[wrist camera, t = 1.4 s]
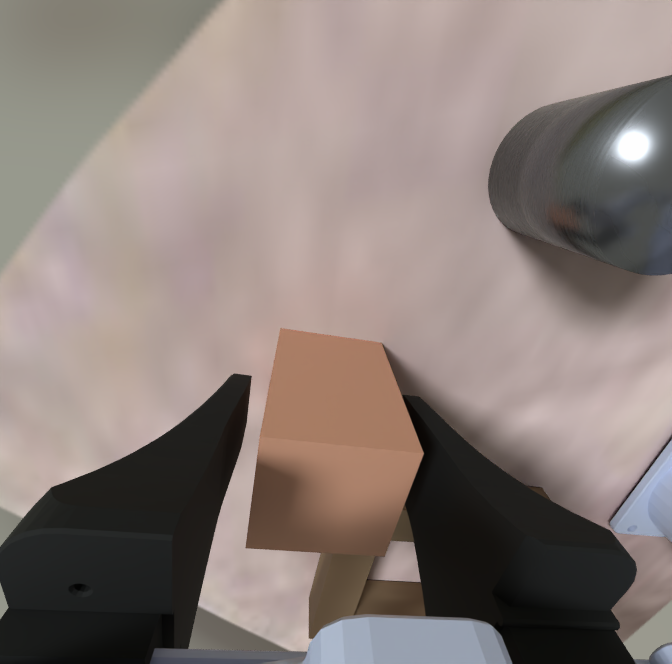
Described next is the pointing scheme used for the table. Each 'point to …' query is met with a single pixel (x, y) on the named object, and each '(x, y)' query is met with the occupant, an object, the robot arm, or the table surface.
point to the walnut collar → (363, 586)
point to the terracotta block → (331, 449)
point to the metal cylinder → (593, 176)
